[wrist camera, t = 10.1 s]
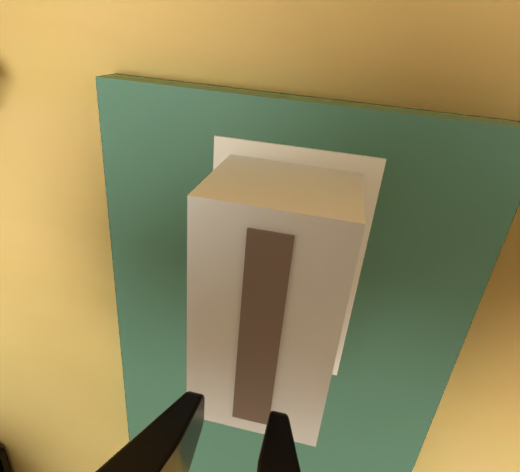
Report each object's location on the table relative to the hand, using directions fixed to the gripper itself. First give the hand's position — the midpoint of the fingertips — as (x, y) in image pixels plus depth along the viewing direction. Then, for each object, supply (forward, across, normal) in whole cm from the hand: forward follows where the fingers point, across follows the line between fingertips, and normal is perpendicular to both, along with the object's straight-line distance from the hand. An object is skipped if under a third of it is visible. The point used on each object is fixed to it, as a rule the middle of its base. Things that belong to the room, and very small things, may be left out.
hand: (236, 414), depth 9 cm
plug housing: (+7, 0, 0) cm, 7 cm away
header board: (+8, 0, +4) cm, 9 cm away
